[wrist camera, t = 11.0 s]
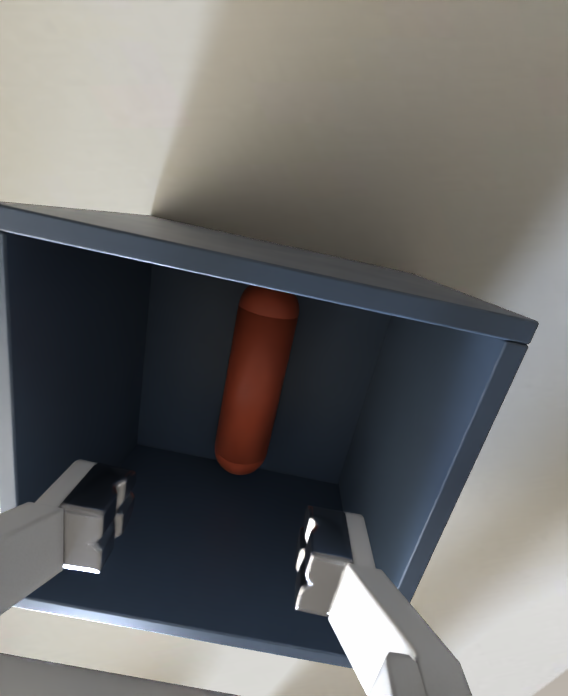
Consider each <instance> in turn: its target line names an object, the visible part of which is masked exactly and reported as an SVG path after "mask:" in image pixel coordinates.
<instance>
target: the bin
mask: <svg viewBox="0 0 568 696" xmlns="http://www.w3.org/2000/svg"><path fill="white" fill-rule="evenodd" d="M249 285H253V286H258V287H262V288H267V289H271V290H276V291H281V292H285V293H290V294H295V295H296V297H297V299H298V303H299V316H298V321H297V325H296V329H295V334H294V338H293V342H292V347H291V351H290V355H289V360H288V364H287V369H286V373H285V377H284V382H283V386H282V390H281V395H280V399H279V403H278V408H277V412H276V417H275V421H274V425H273V430H272V434H271V438H270V443H269V447H268V451H267V455H266V458H265V460H264V462H263V463H262V465H261V466H260V467H259V468H258V469H257V470H255V471H254V472H252V473H249V474H246V475H235V474H231V473H229V472H227V471H226V470H224V469H223V468H222V467H221V466H220V464H219V463H218V461H217V459H216V456H215V440H216V434H217V428H218V422H219V416H220V411H221V405H222V399H223V393H224V387H225V381H226V375H227V369H228V363H229V358H230V352H231V346H232V340H233V334H234V328H235V322H236V316H237V310H238V304H239V301H240V298H241V295H242V294H243V292H244V290H245V289H246V288H247V287H248V286H249ZM538 324H539V323H538V322H537V321H535V320H533V319H530V318H528V317H525V316H522V315H520V314H517V313H515V312H512V311H509V310H507V309H504V308H501V307H499V306H496V305H494V304H491V303H488V302H486V301H483V300H481V299H478V298H475V297H473V296H470V295H468V294H465V293H462V292H460V291H457V290H455V289H452V288H449V287H447V286H444V285H441V284H439V283H436V282H434V281H431V280H428V279H426V278H423V277H421V276H418V275H416V274H413V273H408V272H403V271H399V270H394V269H390V268H385V267H381V266H376V265H372V264H367V263H363V262H358V261H354V260H349V259H344V258H340V257H335V256H331V255H326V254H322V253H317V252H313V251H308V250H304V249H299V248H295V247H290V246H285V245H281V244H276V243H272V242H267V241H263V240H258V239H254V238H249V237H245V236H240V235H235V234H231V233H226V232H222V231H217V230H213V229H208V228H204V227H199V226H195V225H190V224H186V223H181V222H176V221H172V220H167V219H163V218H158V217H154V216H149V215H138V214H128V213H117V212H106V211H96V210H85V209H74V208H63V207H53V206H42V205H31V204H21V203H10V202H0V514H1V513H3V512H5V511H8V510H10V509H13V508H15V507H17V506H20V505H22V504H24V503H27V502H33V503H35V502H36V501H37V500H38V499H39V498H40V497H41V496H42V495H43V493H44V492H45V491H46V490H47V489H48V488H49V487H50V486H51V485H52V484H53V483H54V482H55V481H56V480H57V479H58V478H59V477H60V476H61V475H62V474H63V473H64V472H65V471H66V470H67V469H68V468H69V467H70V466H71V465H72V464H73V462H75V461H77V460H79V459H82V460H86V461H91V462H95V463H101V464H106V465H110V466H115V467H119V468H124V469H128V470H133V471H135V472H136V484H135V486H134V487H133V489H132V490H131V491H132V493H133V495H134V496H135V500H134V506H133V511H132V514H131V517H130V519H129V522H128V524H127V526H126V528H125V530H124V532H123V533H122V534H121V535H120V536H118V537H116V538H115V539H114V549H113V551H112V553H111V554H110V556H109V558H108V559H107V561H106V563H105V565H104V566H103V568H102V570H101V571H100V573H95V572H88V571H82V570H75V569H69V568H63V570H62V571H61V572H60V573H58V574H57V575H55V576H54V577H53V578H51V579H50V580H49V581H47V582H46V583H44V584H43V585H42V586H40V587H39V588H37V589H36V590H35V591H33V592H32V593H30V594H29V595H28V596H26V597H25V598H24V599H22V600H21V601H19V602H18V603H17V604H15V605H14V606H13V607H18V608H24V609H29V610H35V611H40V612H46V613H51V614H57V615H62V616H68V617H73V618H79V619H84V620H90V621H95V622H101V623H106V624H112V625H117V626H123V627H128V628H134V629H139V630H145V631H150V632H156V633H161V634H167V635H172V636H178V637H183V638H189V639H194V640H199V641H205V642H210V643H216V644H221V645H227V646H232V647H238V648H243V649H249V650H254V651H260V652H265V653H271V654H276V655H282V656H287V657H293V658H298V659H304V660H309V661H315V662H320V663H326V664H331V665H337V666H342V667H348V668H353V667H352V665H351V663H350V661H349V659H348V657H347V655H346V653H345V651H344V649H343V647H342V646H341V644H340V642H339V640H338V638H337V636H336V634H335V632H334V630H333V628H332V626H331V624H330V622H329V620H328V617H325V616H321V615H316V614H312V613H307V612H303V611H298V610H295V581H296V578H297V574H298V571H297V569H296V568H295V553H296V545H297V539H298V535H299V531H300V528H302V527H303V526H304V514H305V511H306V508H307V506H308V505H311V506H316V507H321V508H327V509H332V510H337V511H342V512H350V513H356V514H361V515H362V516H363V517H364V520H365V525H366V529H367V533H368V537H369V541H370V546H371V550H372V554H373V558H374V562H375V567H376V569H381V570H382V571H383V572H384V573H385V574H386V576H387V577H388V578H389V579H390V580H391V581H392V583H393V584H394V585H395V586H396V587H397V589H398V590H399V591H400V592H401V593H402V595H403V596H404V597H405V598H406V599H407V601H408V602H409V603H410V602H411V599H412V597H413V595H414V593H415V591H416V589H417V586H418V584H419V582H420V580H421V578H422V576H423V573H424V571H425V569H426V567H427V565H428V563H429V561H430V558H431V556H432V554H433V552H434V550H435V548H436V545H437V543H438V541H439V539H440V537H441V535H442V532H443V530H444V528H445V526H446V524H447V522H448V520H449V517H450V515H451V513H452V511H453V509H454V507H455V504H456V502H457V500H458V498H459V496H460V494H461V491H462V489H463V487H464V485H465V483H466V481H467V478H468V476H469V474H470V472H471V470H472V468H473V466H474V463H475V461H476V459H477V457H478V455H479V453H480V450H481V448H482V446H483V444H484V442H485V440H486V437H487V435H488V433H489V431H490V429H491V427H492V425H493V422H494V420H495V418H496V416H497V414H498V412H499V409H500V407H501V405H502V403H503V401H504V399H505V396H506V394H507V392H508V390H509V388H510V386H511V384H512V381H513V379H514V377H515V375H516V373H517V371H518V368H519V366H520V364H521V362H522V360H523V358H524V355H525V353H526V351H527V349H528V346H527V345H526V344H529V343H530V342H531V340H532V338H533V336H534V333H535V331H536V329H537V327H538Z"/></svg>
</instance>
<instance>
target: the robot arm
mask: <svg viewBox="0 0 568 696" xmlns="http://www.w3.org/2000/svg"><path fill="white" fill-rule="evenodd" d="M135 484H136V472H135V471H133V470H128V469H124V468H119V467H115V466H110V465H106V464H101V463H95V462H91V461H86V460H82V459H79V460H77V461H75V462H73V464H72V465H71V466H70V467H69V468H68V469H67V470H66V471H65V472H64V473H63V474H62V475H61V476H60V477H59V478H58V479H57V480H56V481H55V482H54V483H53V484H52V485H51V486H50V487H49V488H48V489H47V490H46V491H45V492H44V493H43V495H42V496H41V497H40V498H39V499H38V500H37V501H36V502H35V503H33V502H27V503H24V504H22V505H20V506H17V507H15V508H13V509H10V510H8V511H5V512H3V513H1V514H0V615H1V614H3V613H4V612H5V611H7V610H8V609H10V608H11V607H12V606H14V605H15V604H17V603H18V602H19V601H21V600H22V599H24V598H25V597H26V596H28V595H29V594H30V593H32V592H33V591H35V590H36V589H37V588H39V587H40V586H42V585H43V584H44V583H46V582H47V581H49V580H50V579H51V578H53V577H54V576H55V575H57V574H58V573H60V572H61V571H62V570H63V568H69V569H75V570H82V571H88V572H95V573H100V571H101V570H102V568H103V566H104V565H105V563H106V561H107V559H108V558H109V556H110V554H111V553H112V551H113V549H114V539H115V538H116V537H118V536H120V535H121V534H122V533H123V532H124V530H125V528H126V526H127V524H128V522H129V519H130V517H131V514H132V511H133V506H134V500H135V496H134V495H133V493H132V491H131V490H132V489H133V487H134V486H135ZM295 568H296V569H297V571H298V574H297V578H296V581H295V610H298V611H303V612H307V613H312V614H316V615H321V616H325V617H328V620H329V622H330V624H331V626H332V628H333V630H334V632H335V634H336V636H337V638H338V640H339V642H340V644H341V646H342V647H343V649H344V651H345V653H346V655H347V657H348V659H349V661H350V663H351V665H352V667H353V669H354V671H355V673H356V675H357V677H358V679H359V681H360V683H361V685H362V687H363V689H364V690H365V692H366V694H367V696H472V694H471V691H470V689H469V686H468V683H467V681H466V678H465V675H464V672H463V670H462V667H461V664H460V662H459V661H458V660H457V659H456V658H455V656H454V655H453V654H452V653H451V652H450V650H449V649H448V648H447V647H446V646H445V645H444V643H443V642H442V641H441V640H440V639H439V637H438V636H437V635H436V634H435V633H434V631H433V630H432V629H431V628H430V627H429V626H428V624H427V623H426V622H425V621H424V620H423V618H422V617H421V616H420V615H419V614H418V612H417V611H416V610H415V609H414V608H413V606H412V605H411V604H410V603H409V602H408V601H407V599H406V598H405V597H404V596H403V595H402V593H401V592H400V591H399V590H398V589H397V587H396V586H395V585H394V584H393V583H392V581H391V580H390V579H389V578H388V577H387V576H386V574H385V573H384V572H383V571H382V570H381V569H376V567H375V562H374V558H373V554H372V550H371V546H370V541H369V537H368V533H367V529H366V525H365V520H364V517H363V516H362V515H361V514H356V513H350V512H342V511H337V510H332V509H327V508H321V507H316V506H311V505H308V506H307V508H306V511H305V514H304V526H303V527H302V528H300V531H299V535H298V539H297V545H296V553H295ZM0 696H239V695H233V694H228V693H222V692H216V691H211V690H205V689H199V688H194V687H188V686H183V685H177V684H171V683H166V682H160V681H154V680H149V679H143V678H138V677H132V676H126V675H121V674H115V673H109V672H104V671H98V670H93V669H87V668H81V667H76V666H70V665H64V664H59V663H53V662H48V661H42V660H36V659H31V658H25V657H20V656H14V655H8V654H3V653H0Z"/></svg>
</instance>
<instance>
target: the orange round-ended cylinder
mask: <svg viewBox="0 0 568 696" xmlns="http://www.w3.org/2000/svg"><path fill="white" fill-rule="evenodd" d="M298 316H299V303H298V299H297V297H296V295H295V294H290V293H285V292H281V291H276V290H271V289H267V288H262V287H258V286H253V285H249V286H248V287H247V288H246V289H245V290H244V292H243V294H242V295H241V298H240V301H239V304H238V310H237V316H236V322H235V328H234V334H233V340H232V346H231V352H230V358H229V363H228V369H227V375H226V381H225V387H224V393H223V399H222V405H221V411H220V416H219V422H218V428H217V434H216V440H215V456H216V459H217V461H218V463H219V464H220V466H221V467H222V468H223V469H224V470H226V471H227V472H229V473H231V474H235V475H246V474H249V473H252V472H254V471H255V470H257V469H258V468H259V467H260V466H261V465H262V463H263V462H264V460H265V458H266V455H267V451H268V447H269V443H270V438H271V434H272V430H273V425H274V421H275V417H276V412H277V408H278V403H279V399H280V395H281V390H282V386H283V382H284V377H285V373H286V369H287V364H288V360H289V355H290V351H291V347H292V342H293V338H294V334H295V329H296V325H297V321H298Z"/></svg>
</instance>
